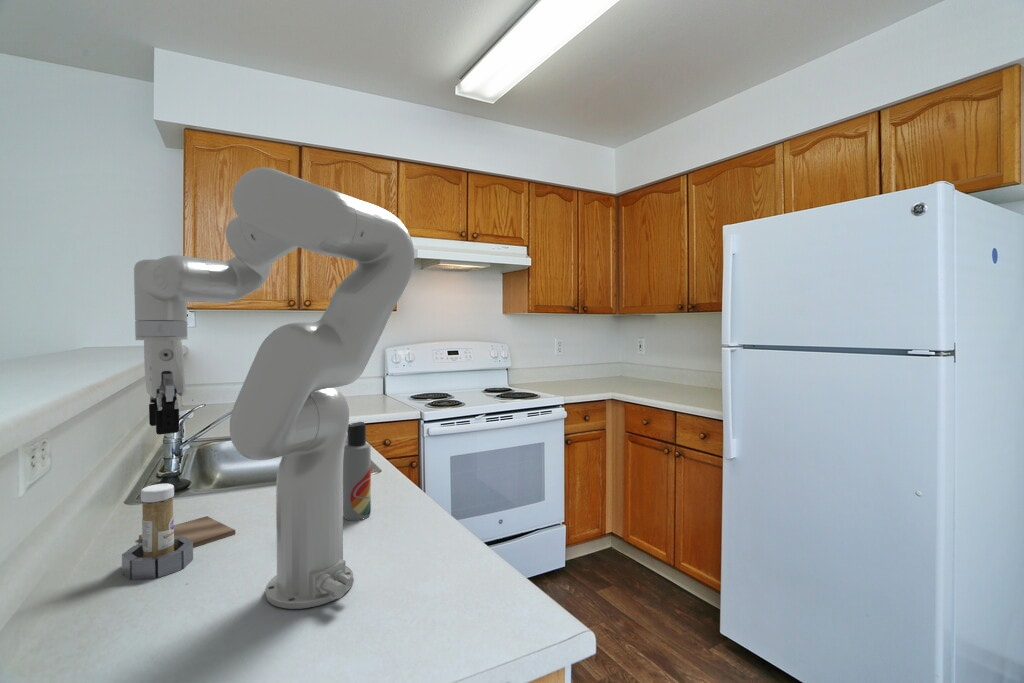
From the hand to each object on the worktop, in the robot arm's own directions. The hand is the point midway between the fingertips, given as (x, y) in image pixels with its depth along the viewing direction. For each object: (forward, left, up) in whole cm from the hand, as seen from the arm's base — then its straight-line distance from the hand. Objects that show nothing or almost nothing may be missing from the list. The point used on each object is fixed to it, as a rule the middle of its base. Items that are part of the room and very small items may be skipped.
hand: (163, 428), depth 89 cm
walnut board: (+5, -5, -22) cm, 23 cm away
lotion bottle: (-12, -31, -23) cm, 40 cm away
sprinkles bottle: (-4, +3, -23) cm, 23 cm away
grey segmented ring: (-4, +3, -22) cm, 23 cm away
